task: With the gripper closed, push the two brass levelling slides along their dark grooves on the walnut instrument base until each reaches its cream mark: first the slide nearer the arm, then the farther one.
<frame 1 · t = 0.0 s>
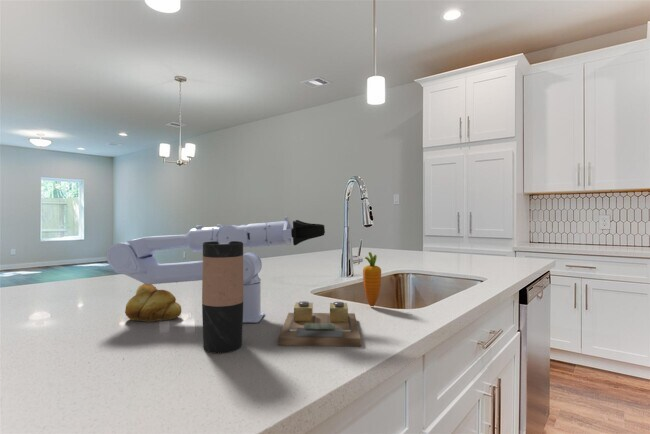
hand: (324, 229, 90), 22 cm above the table, tool horizontal, fingers open, 7 cm apart
instrument base: (320, 331, 81), on the table
carrot: (371, 307, 102), on the table
travel mug: (222, 347, 71), on the table
slide near: (303, 310, 85), point 3 cm above the table, slide at 0.0 cm
bread roll: (153, 320, 90), on the table
slide far: (338, 310, 85), point 3 cm above the table, slide at 0.0 cm
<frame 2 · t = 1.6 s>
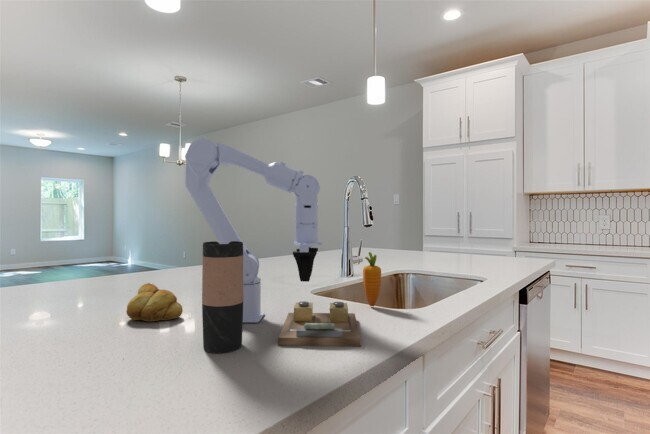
hand: (305, 278, 93), 9 cm above the table, tool pointing down, fingers open, 7 cm apart
nothing on the table moved.
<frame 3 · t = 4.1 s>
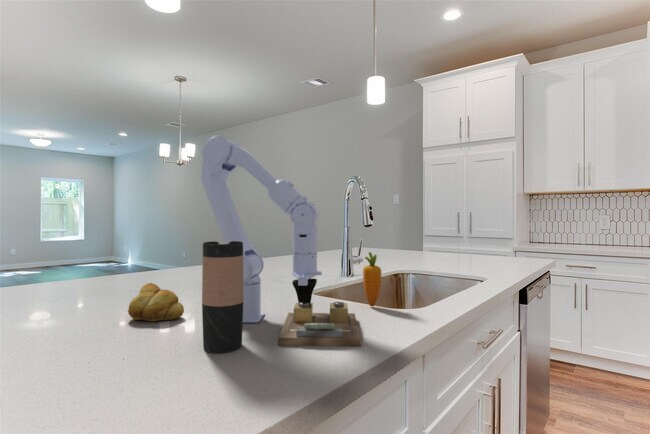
hand: (304, 310, 88), 3 cm above the table, tool pointing down, fingers closed
slide near: (303, 310, 85), point 3 cm above the table, slide at 0.4 cm, touching gripper
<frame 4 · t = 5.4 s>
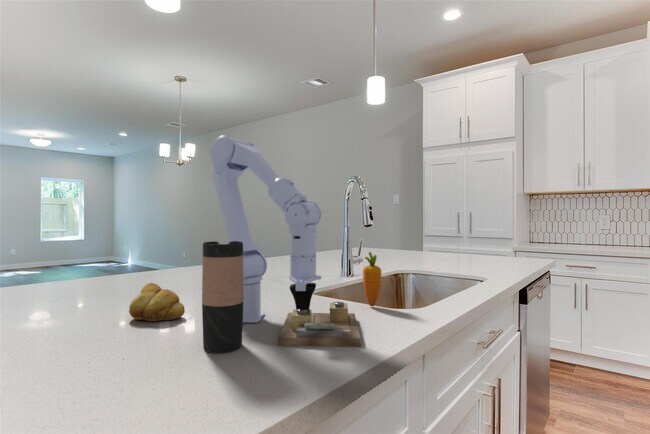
hand: (302, 316, 83), 3 cm above the table, tool pointing down, fingers closed
slide near: (301, 318, 79), point 3 cm above the table, slide at 6.2 cm, touching gripper
everything else where it was.
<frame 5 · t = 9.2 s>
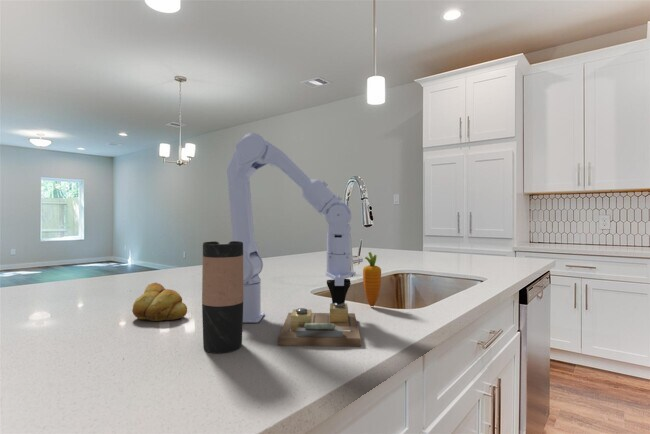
hand: (338, 310, 88), 3 cm above the table, tool pointing down, fingers closed
slide near: (301, 318, 79), point 3 cm above the table, slide at 6.2 cm
slide far: (338, 311, 85), point 3 cm above the table, slide at 0.4 cm, touching gripper
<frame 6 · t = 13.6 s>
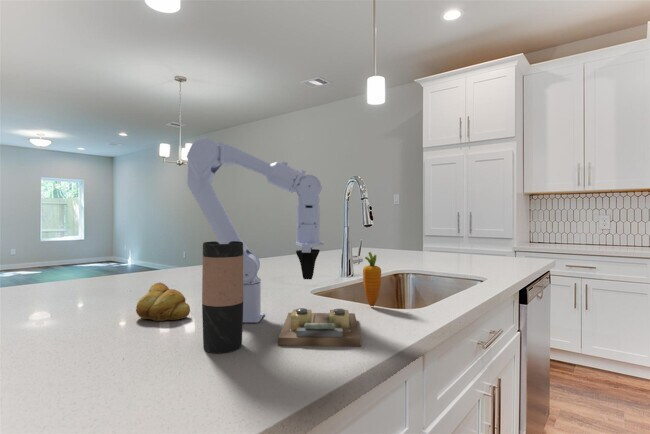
hand: (307, 278, 92), 9 cm above the table, tool pointing down, fingers closed
slide far: (339, 318, 79), point 3 cm above the table, slide at 6.2 cm
at the end: slide near slide at 6.2 cm; slide far slide at 6.2 cm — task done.
